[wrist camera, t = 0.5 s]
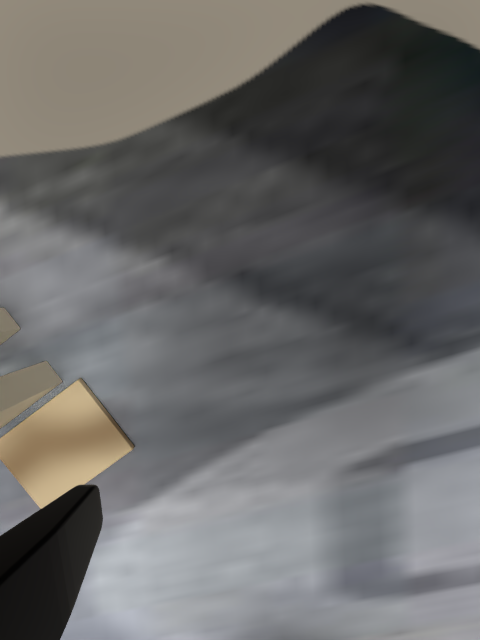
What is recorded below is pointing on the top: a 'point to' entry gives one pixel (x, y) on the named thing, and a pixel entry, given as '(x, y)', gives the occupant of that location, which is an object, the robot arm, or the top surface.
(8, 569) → the robot arm
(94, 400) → the birch pad
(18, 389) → the ivory domino
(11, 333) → the ivory domino
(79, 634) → the top surface
